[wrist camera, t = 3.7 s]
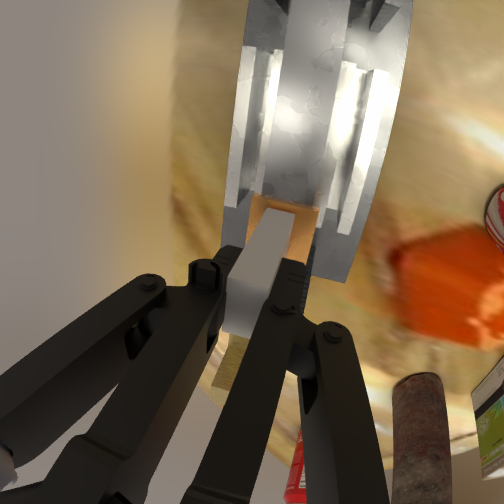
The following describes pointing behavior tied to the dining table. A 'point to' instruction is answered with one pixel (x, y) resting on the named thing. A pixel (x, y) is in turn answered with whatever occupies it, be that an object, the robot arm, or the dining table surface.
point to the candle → (421, 443)
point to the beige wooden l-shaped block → (228, 369)
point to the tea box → (491, 422)
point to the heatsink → (340, 131)
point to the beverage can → (496, 219)
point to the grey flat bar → (302, 118)
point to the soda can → (296, 477)
